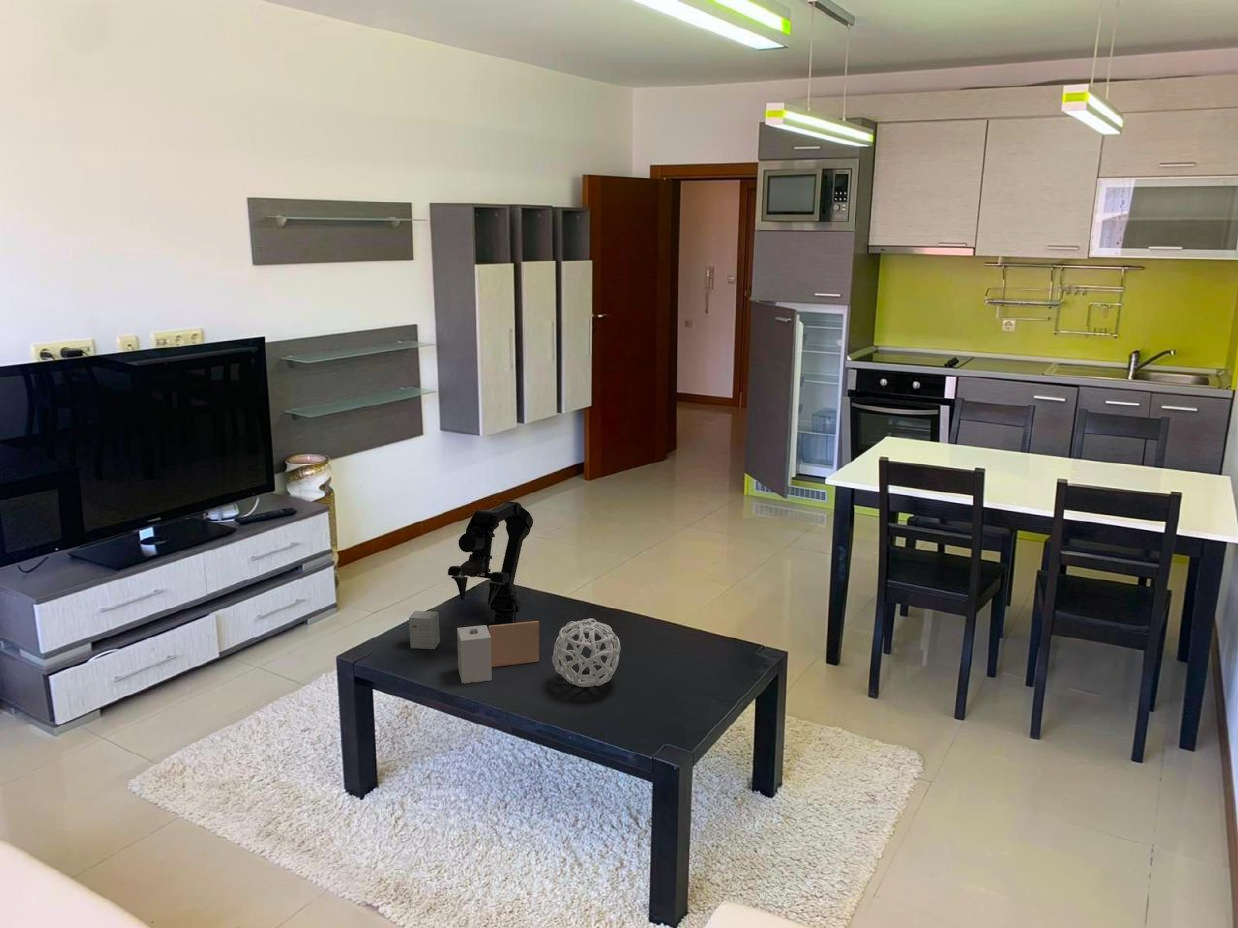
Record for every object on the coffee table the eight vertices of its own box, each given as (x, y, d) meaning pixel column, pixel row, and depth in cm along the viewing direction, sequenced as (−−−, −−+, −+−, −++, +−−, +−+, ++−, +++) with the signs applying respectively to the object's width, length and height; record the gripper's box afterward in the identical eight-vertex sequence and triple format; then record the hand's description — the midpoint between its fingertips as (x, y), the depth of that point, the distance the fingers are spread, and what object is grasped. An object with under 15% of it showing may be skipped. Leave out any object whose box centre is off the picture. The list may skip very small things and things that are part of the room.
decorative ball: (541, 694, 261) (541, 632, 256) (564, 664, 280) (564, 605, 275) (609, 705, 256) (610, 641, 251) (627, 673, 274) (629, 614, 270)
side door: (489, 665, 277) (488, 625, 274) (538, 660, 282) (538, 620, 278) (489, 667, 277) (489, 627, 273) (538, 661, 281) (538, 621, 278)
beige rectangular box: (457, 667, 276) (456, 623, 272) (486, 664, 278) (485, 620, 275) (462, 683, 267) (461, 638, 263) (491, 680, 269) (491, 634, 265)
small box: (440, 642, 293) (439, 611, 291) (435, 649, 288) (433, 618, 285) (415, 640, 294) (414, 610, 291) (410, 648, 288) (408, 617, 286)
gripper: (441, 548, 279) (435, 599, 278) (497, 556, 273) (491, 608, 272) (459, 547, 289) (453, 597, 289) (513, 555, 283) (507, 605, 283)
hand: (475, 602), depth 283 cm, fingers open, 9 cm apart
